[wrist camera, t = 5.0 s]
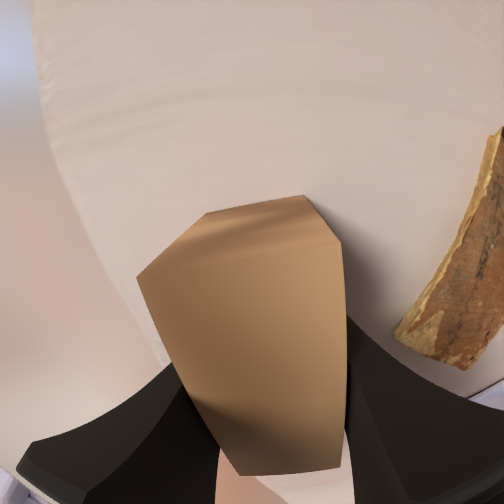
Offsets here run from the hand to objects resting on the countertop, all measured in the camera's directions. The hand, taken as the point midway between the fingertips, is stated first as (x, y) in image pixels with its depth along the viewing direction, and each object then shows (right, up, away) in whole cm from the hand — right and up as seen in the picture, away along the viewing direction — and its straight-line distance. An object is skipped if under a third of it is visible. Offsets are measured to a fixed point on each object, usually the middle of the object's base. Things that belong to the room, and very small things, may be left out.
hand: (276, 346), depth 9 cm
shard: (+9, +2, +1) cm, 9 cm away
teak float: (0, +1, +2) cm, 2 cm away
